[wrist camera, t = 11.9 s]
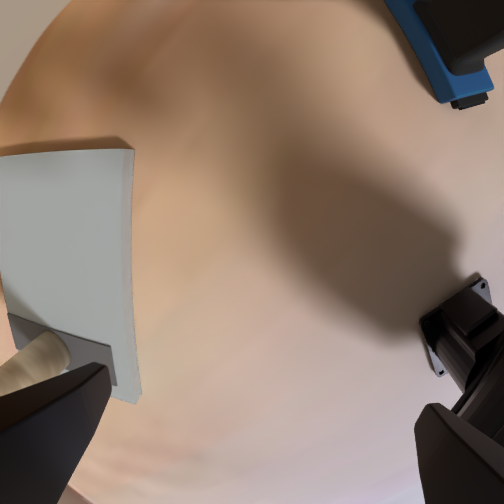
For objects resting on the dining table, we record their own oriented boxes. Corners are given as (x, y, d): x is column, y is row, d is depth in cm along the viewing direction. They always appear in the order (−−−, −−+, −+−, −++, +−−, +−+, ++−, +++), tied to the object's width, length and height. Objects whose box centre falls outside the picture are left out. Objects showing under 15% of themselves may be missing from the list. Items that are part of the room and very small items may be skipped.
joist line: (111, 346, 21) (109, 347, 21) (117, 385, 22) (116, 386, 22) (8, 312, 22) (7, 313, 22) (17, 347, 23) (16, 348, 23)
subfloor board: (6, 156, 20) (-6, 157, 18) (134, 149, 19) (124, 148, 17) (28, 354, 25) (20, 361, 23) (141, 394, 24) (135, 404, 22)
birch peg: (77, 360, 22) (1, 442, 11) (58, 370, 22) (-12, 443, 12) (52, 325, 21) (-35, 396, 10) (35, 338, 22) (-43, 403, 11)
